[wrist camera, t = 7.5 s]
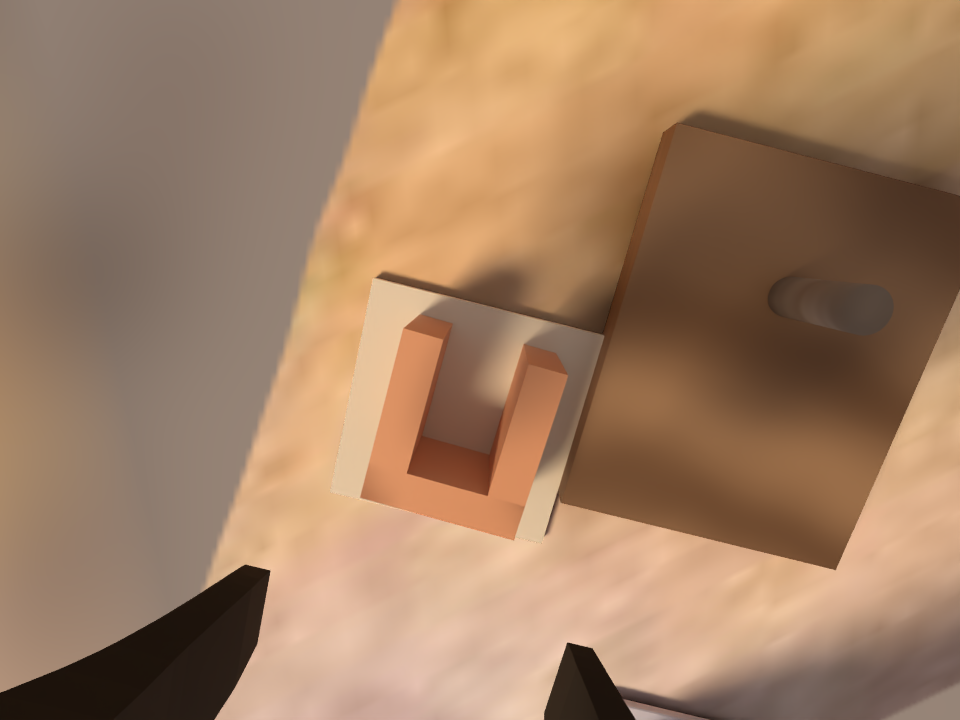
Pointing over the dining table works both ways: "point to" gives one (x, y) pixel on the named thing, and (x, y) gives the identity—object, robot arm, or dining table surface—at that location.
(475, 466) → the c link
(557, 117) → the dining table surface
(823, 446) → the stand
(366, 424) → the felt mat
